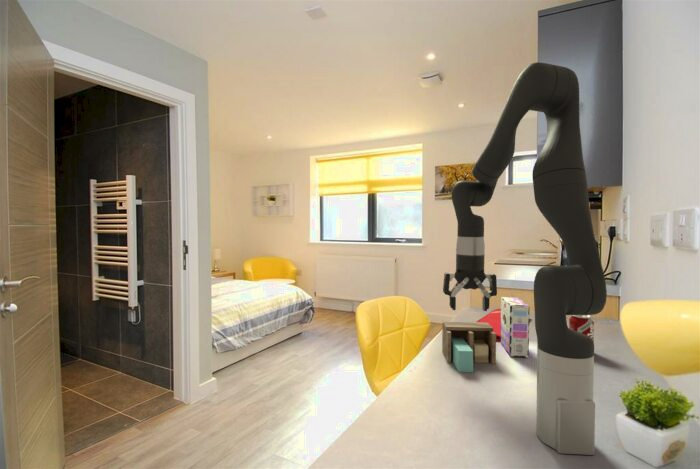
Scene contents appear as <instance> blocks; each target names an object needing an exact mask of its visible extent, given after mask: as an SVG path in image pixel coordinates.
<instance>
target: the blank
mask: <svg viewBox="0 0 700 469" xmlns="http://www.w3.org/2000/svg"><path fill="white" fill-rule="evenodd" d="M451 362H452V363H453V365H454V366H455V368H456V370H457V371H458V373H459V372H461V373H463V372H465V373H473V372H474V360H473V350H472V349H471V348H470V347H469V345H468V344H467V343H466V342H465V340H464V339H463V338H451Z"/></svg>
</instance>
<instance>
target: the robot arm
mask: <svg viewBox="0 0 700 469" xmlns="http://www.w3.org/2000/svg"><path fill="white" fill-rule="evenodd" d="M578 78H579V77H578V76H577V74H576V73H575V71H574V70H572V69H571V68H569V67H566V66H562V65H557V64H551V63H547V62H542V61H541V62H540V61H539V62H532V63H529V65H527V66H526V67H524V69H523V70H522V71H521V72H520V74H519V75H518V77H517V79H516V80H515V83H514V84H513V85H512V88H511V90H510V93H509V95H508V97H507V100H506V102H505V104H504V106H503V109H502V111H501V114H500V116H499V119H498V121H497V123H496V126H495V128H494V130H493V133H492V134H491V136H490V139H489V141H488V143H487V145H486V146H485V148H484V149H483V151H482V152H481V154H480V155H479V157H478V158H477V160H476V162H475V163H474V165H473V167H472V170H471V174H472V176H473V178H474V179H475V180H459V181H457V182H456V183H455V184H454V186H453V187H452V190H451V200H452V201H451V202H452V204H453V208H454V212H455V217H456V220H457V234H456V236H457V238H456V244H455V245H456V247H455V271H454V273H448V272H444V275H443V285H442V286H443V287H442V293H444V295H446V296H448V297H449V307H450V308H451V310H452V311H456V309H457V307H456V306H457V301H456V300H457V299H456V295H458V293H459V292H461V291H462V289H464V290H469V289H471V290H477V289H478V290H479V291H480V292H481V294H482V295H483V296H482V303H481V304H482V309H481V310H482V311H483V312H487V311H488V310H489V309H490V298H491V297H495V296H496V297H497V294H498V287H497V275H496V274H495V273H492V272H491V273H488V274H486V273H485V256H486V255H485V249H486V246H485V245H486V244H485V220H484V217H483V216H481V215H478V214H474V212H473V211H472V208H471V207H483V206H485V205H487V204H488V203H489V202H490V201H491V199H492V198H493V195H494V193H495V192H494V191H495V189H496V187H497V184H498V180H499V179H500V177H501V176H502V175H503V173H504V172H505V171H506V169H507V168H508V166H509V164H510V163H511V162H512V159H513V157H514V155H515V150H516V148H515V146H516V136H517V130H518V127H519V125H520V122H521V121H522V119H524V116H525V115H526V114H528V112H530V111H532V112H539V113H543V114H544V115H545V121H546V130H547V132H546V133H547V136H546V140H545V143H544V145H543V147H542V149H541V151H540V153H539V154H538V156H537V157H536V158H537V159H536V160H535V163H534V164H533V169H532V174H531V175H532V187H533V194H534V200H535V201H534V202H535V205H536V207H537V209H538V210H539V212H540V213H541V214H542V216H543V217H544V218H545V220H546V221H547V222H548V223H549V225H550V226H551V227H552V229H553V230H554V231H555V232H556V234H557V235H558V237H559V238H560V240H561V241H562V243H563V245H564V249H565V253H566V255H567V260H568V265H545V266H542V267H540V268H539V269H538V270H537V272H536V273H535V276H534V282H533V303H534V328H535V333H536V339H537V346H536V350H537V351H536V352H537V353H536V357H537V358H536V409H535V410H536V428H535V429H536V431H535V432H536V433H535V434H536V436H537V437H538V439H539V440H540V441H541V442H542V443H544V444H545V445H547V446H549V447H550V448H553V449H554V450H556V452H557V453H558V454H566V455H567V454H568V455H589V456H590V455H591V456H595V447H596V446H595V438H596V437H595V436H596V433H595V432H596V403H595V402H594V379H595V378H594V373H595V369H594V367H595V341H594V342H593V340H592V339H591V338H590V337H589V336H587V335H585V334H583V333H580V332H577V331H574V330H571V329H569V325H568V322H567V316H572V315H590V316H593V315H598V314H600V313H601V312H602V311H603V310H604V308H605V305H606V302H607V296H608V294H607V293H608V292H607V282H606V276H605V273H604V269H603V265H602V260H601V258H600V254H599V250H598V246H597V242H596V237H595V232H594V226H593V220H592V214H591V209H590V208H591V207H590V200H589V188H588V187H589V186H588V181H587V172H586V168H585V163H584V156H583V154H584V153H583V147H582V146H583V145H582V137H581V136H582V135H581V128H580V127H581V126H580V125H581V124H580V123H581V122H580V121H581V120H580V119H581V118H580V85H579V79H578ZM453 279H455V281H456V283H455V284H454V285H453V287H452V289H451V290H450V282H452V281H453ZM486 279H487V281H488V282H489V290H487V288H486V287H485V286H484V284H483V283H484V281H485V280H486Z"/></svg>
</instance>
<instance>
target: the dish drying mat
mask: <svg viewBox="0 0 700 469" xmlns="http://www.w3.org/2000/svg"><path fill="white" fill-rule="evenodd" d="M476 322H485V323H488V324H489V325H490V326H492V327H493V332H495V333H496V342H500V343H501V308H496V309H493V310H492V311H490V312H489V313H487V314H486V315H485V316H483V317H481V318H480V319H478V320H476Z"/></svg>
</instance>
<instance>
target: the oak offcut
mask: <svg viewBox="0 0 700 469" xmlns="http://www.w3.org/2000/svg"><path fill="white" fill-rule="evenodd" d="M473 363H489V359H488V345H487V344H486V343H485V342H484V341H483V340H473Z"/></svg>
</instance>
